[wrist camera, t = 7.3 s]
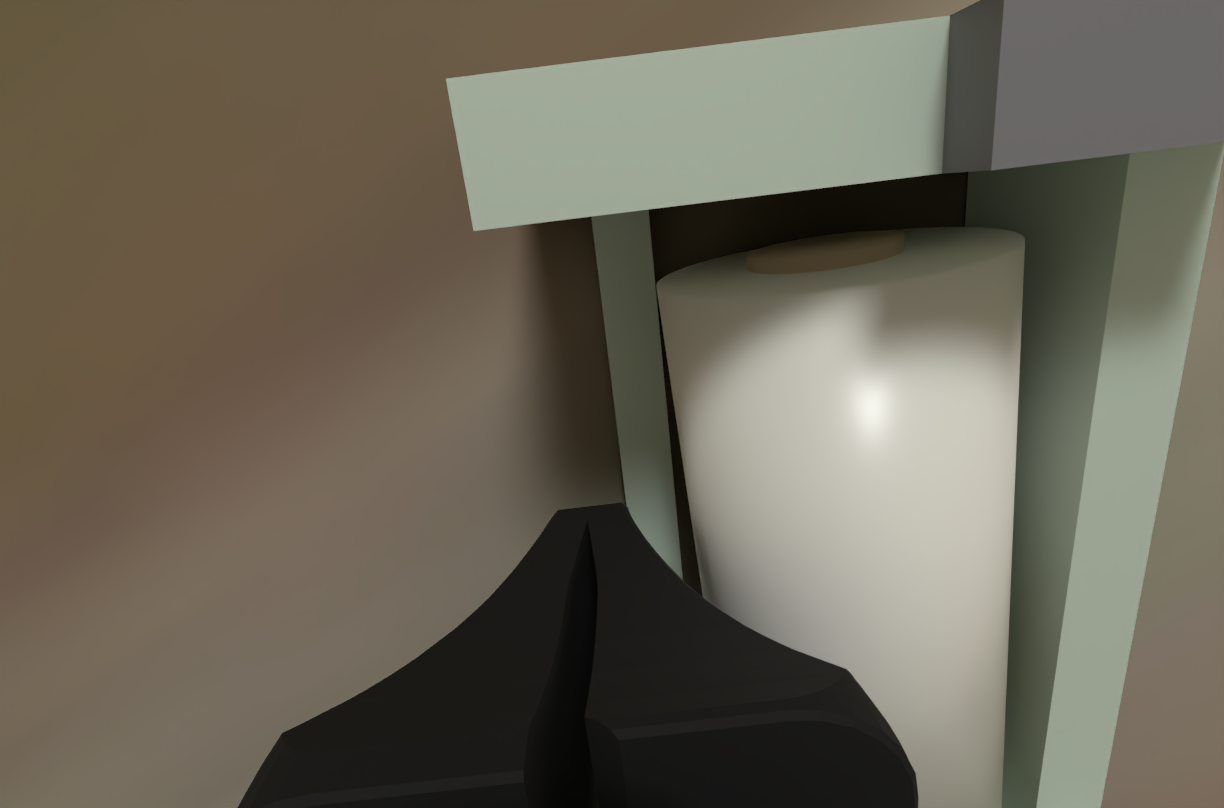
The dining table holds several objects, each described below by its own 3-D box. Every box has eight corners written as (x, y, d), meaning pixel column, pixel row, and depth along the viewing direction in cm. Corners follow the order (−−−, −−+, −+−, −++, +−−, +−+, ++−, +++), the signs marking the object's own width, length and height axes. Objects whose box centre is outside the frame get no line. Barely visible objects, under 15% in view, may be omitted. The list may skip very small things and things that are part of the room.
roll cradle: (979, 737, 15) (1250, 1118, 9) (619, 778, 15) (638, 1184, 9) (1043, 75, 11) (1712, -101, 4) (523, 140, 11) (424, 61, 4)
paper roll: (895, 979, 9) (680, 761, 13) (1054, 775, 12) (831, 643, 16) (868, 287, 6) (592, 279, 10) (1098, 203, 8) (799, 224, 12)
